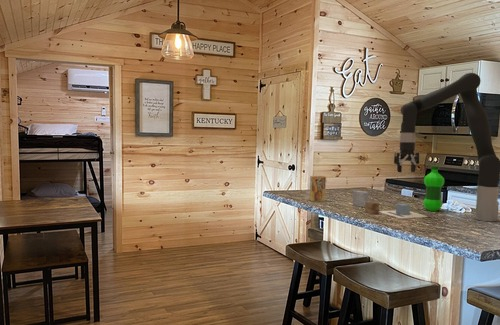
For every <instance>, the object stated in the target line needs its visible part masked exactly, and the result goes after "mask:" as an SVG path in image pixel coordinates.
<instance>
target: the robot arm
mask: <svg viewBox="0 0 500 325" xmlns="http://www.w3.org/2000/svg"><path fill="white" fill-rule="evenodd" d="M481 82H482V81H481V77H480V75H479V74H478V73H475V72H468V73H465V74H464V75H462V76H461V77H459V78H458V79H456V80H455V81H454V82H452V83H450V84H448V85H445V86H443V87H440V88H439V89H435V90H434V91H431V92H430V93H427V94H425V95H422V96H421V97H419V98H417V99H415V100H412V101H410V102H408V103H405V104H403V105H402V106H401V108H400V112H401V113H400V114H402V121H401V123H400V124H401V125H400V136H399V152H398V151H397V152H394V156H393V157H394V158H393V164H395V165H396V166H397V168H396V170H397V173H402V172H403V171H402V170H403V169H402V168H403V166H402V165H403V164H404V162H407V161H408V162H409V163H410V164H411V165H410V172H411V173H416V172H415V171H416V170H417V169H416V168H417V167H416V165H418V164H420V153H419V152H415V149H416V122H417V117H418V116H417V114H418V113H420V112H423V111H426V110H428V109H430V108H432V107H434V106H437V105H440V104H441V103H443V102H444V101H446V100H448V99H451V98H452V97H454V96H457V95H460V97H461V99H462V103H463V106H464V111H465V112H464V113H465V115H466V116H465V117H466V120H467V123H468V124H467V125H468V129H469V131H470V135H471V138H472V140H473V142H474V145H475V148H476V153H477V154H476V155H477V162H478V163H477V164H478V178H477V187H476V188H477V189H476V204H475V205H476V206H475V218H474V219H475V220H478V221H482V222H497V221H498V219H499V218H498V217H499V207H500V206H499V201H498V199H499V185H500V158H499V157H497V155H496V152H495V149H494V146H493V142H492V130H491V124H490V121H489V120H490V119H489V117H488V114H487V111H486V110H485V108H484V107H483V105H482V104H481V102H480V99H479V96H478V95H479V94H478V88H479V86H480V85H481Z"/></svg>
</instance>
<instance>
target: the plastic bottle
mask: <svg viewBox="0 0 500 325" xmlns="http://www.w3.org/2000/svg"><path fill="white" fill-rule="evenodd" d="M430 170H431V171H430V173H428V174H427V175H425V176H424V178H423V184H424V185H425V197H424V199H423V203H422V204H423V206H424V208H425V209H427V211H430V212H438V211H439V210H440V209H442V206H443V202H442V187H443V186H444V185H445V177H443V175H442V174H440V173H439V171H438V170H440V166H439V165H430Z"/></svg>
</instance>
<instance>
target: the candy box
mask: <svg viewBox="0 0 500 325" xmlns="http://www.w3.org/2000/svg"><path fill="white" fill-rule="evenodd" d="M326 177H327V176H325V175H310V177H309V180H310V181H309V201H311V202H319V201H321V202H323V201H325V200H326V180H327V179H326Z"/></svg>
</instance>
